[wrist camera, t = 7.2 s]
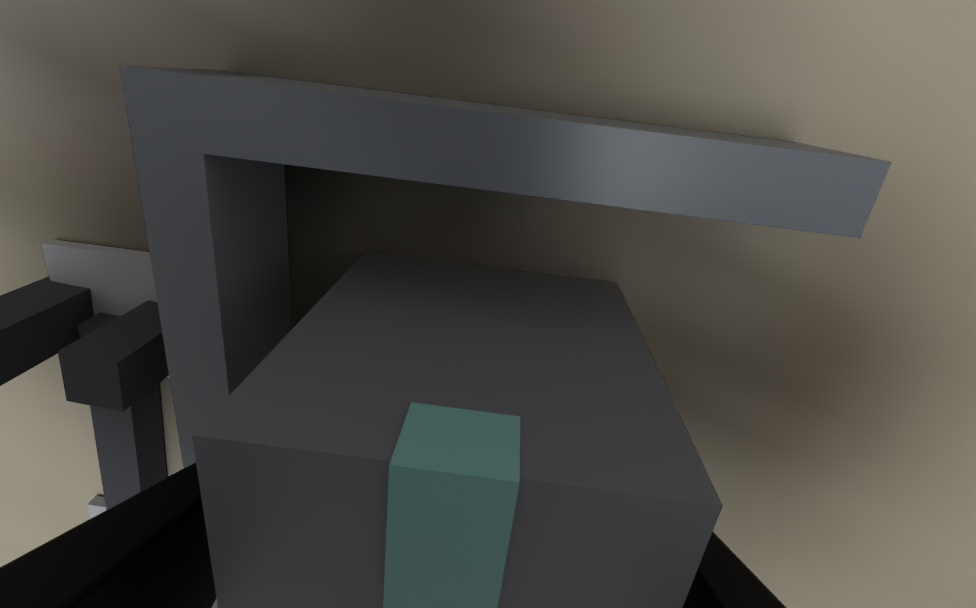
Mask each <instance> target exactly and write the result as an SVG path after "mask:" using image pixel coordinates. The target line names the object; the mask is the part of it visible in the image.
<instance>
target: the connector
mask: <svg viewBox="0 0 976 608" xmlns="http://www.w3.org/2000/svg"><path fill="white" fill-rule="evenodd" d="M192 440H193V446H194V453H195V459H196V466H197V473H198V479H199V486H200V492H201V499H202V505H203V512H204V518H205V525H206V532H207V538H208V545H209V551H210V558H211V564H212V571H213V578H214V584H215V591H216V597H217V604H218V608H682V607H683V605H684V602H685V600H686V597H687V595H688V592H689V590H690V587H691V585H692V582H693V580H694V577H695V574H696V572H697V569H698V567H699V564H700V562H701V559H702V557H703V554H704V552H705V549H706V546H707V544H708V541H709V539H710V536H711V534H712V531H713V529H714V526H715V524H716V521H717V519H718V516H719V513H720V511H721V508H722V503H721V501H720V499H719V497H718V495H717V493H716V491H715V489H714V487H713V484H712V482H711V480H710V478H709V476H708V474H707V472H706V470H705V468H704V465H703V463H702V461H701V459H700V457H699V455H698V453H697V451H696V449H695V446H694V444H693V442H692V440H691V438H690V436H689V434H688V432H687V430H686V427H685V425H684V423H683V421H682V419H681V417H680V415H679V413H678V411H677V408H676V406H675V404H674V402H673V400H672V398H671V396H670V394H669V391H668V389H667V387H666V385H665V383H664V381H663V379H662V377H661V375H660V372H659V370H658V368H657V366H656V364H655V362H654V360H653V358H652V356H651V353H650V351H649V349H648V347H647V345H646V343H645V341H644V339H643V337H642V334H641V332H640V330H639V328H638V326H637V324H636V322H635V320H634V318H633V315H632V313H631V311H630V309H629V307H628V305H627V303H626V301H625V299H624V296H623V294H622V292H621V290H620V288H619V286H618V284H617V283H614V282H606V281H598V280H590V279H583V278H575V277H567V276H559V275H552V274H544V273H536V272H528V271H520V270H513V269H505V268H497V267H489V266H482V265H474V264H466V263H458V262H450V261H443V260H435V259H427V258H419V257H412V256H404V255H396V254H388V253H380V252H373V251H366V252H365V253H364V254H363V255H362V256H361V257H360V258H359V259H358V260H357V261H356V262H355V263H354V264H353V265H352V267H351V268H350V269H349V270H348V271H347V272H346V273H345V274H344V275H343V276H342V277H341V278H340V279H339V280H338V281H337V282H336V283H335V284H334V286H333V287H332V288H331V289H330V290H329V291H328V292H327V293H326V294H325V295H324V296H323V297H322V298H321V299H320V300H319V301H318V302H317V303H316V305H315V306H314V307H313V308H312V309H311V310H310V311H309V312H308V313H307V314H306V315H305V316H304V317H303V318H302V319H301V320H300V321H299V322H298V324H297V325H296V326H295V327H294V328H293V329H292V330H291V331H290V332H289V333H288V334H287V335H286V336H285V337H284V338H283V339H282V340H281V342H280V343H279V344H278V345H277V346H276V347H275V348H274V349H273V350H272V351H271V352H270V353H269V354H268V355H267V356H266V357H265V358H264V359H263V361H262V362H261V363H260V364H259V365H258V366H257V367H256V368H255V369H254V370H253V371H252V372H251V373H250V374H249V375H248V376H247V377H246V378H245V380H244V381H243V382H242V383H241V384H240V385H239V386H238V387H237V388H236V389H235V390H234V391H233V392H232V393H231V394H230V395H229V396H228V397H227V399H226V400H225V401H224V402H223V403H222V404H221V405H220V406H219V407H218V408H217V409H216V410H215V411H214V412H213V413H212V414H211V415H210V416H209V418H208V419H207V420H206V421H205V422H204V423H203V424H202V425H201V426H200V427H199V428H198V429H197V430H196V431H195V432H194V433H193V434H192Z"/></svg>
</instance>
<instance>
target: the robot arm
mask: <svg viewBox="0 0 976 608" xmlns="http://www.w3.org/2000/svg"><path fill="white" fill-rule="evenodd" d="M216 598H217V597H216V591H215V584H214V578H213V571H212V564H211V558H210V551H209V545H208V538H207V532H206V525H205V518H204V512H203V505H202V499H201V492H200V486H199V479H198V473H197V466H196V462H195V463H193V464H191V465H189V466H188V467H186V468H184V469H182V470H180V471H178V472H176V473H175V474H173V475H171V476H169V477H167V478H165V479H163V480H162V481H160V482H158V483H156V484H154V485H152V486H150V487H149V488H147V489H145V490H143V491H141V492H139V493H137V494H136V495H134V496H132V497H130V498H128V499H126V500H124V501H123V502H121V503H119V504H117V505H115V506H113V507H111V508H110V509H108V510H106V511H104V512H102V513H100V514H98V515H97V516H95V517H93V518H91V519H89V520H87V521H86V522H84V523H82V524H80V525H78V526H76V527H74V528H73V529H71V530H69V531H67V532H65V533H63V534H61V535H60V536H58V537H56V538H54V539H52V540H50V541H48V542H47V543H45V544H43V545H41V546H39V547H37V548H35V549H34V550H32V551H30V552H28V553H26V554H24V555H22V556H21V557H19V558H17V559H15V560H13V561H11V562H9V563H8V564H6V565H4V566H2V567H0V608H212V606H213V604H214V602H215V600H216ZM682 608H786V607H785V606H784V605H783V604H782V603H781V602H780V601H779V600H778V598H777V597H776V596H775V595H774V594H773V593H772V592H771V591H770V590H769V589H768V588H767V587H766V586H765V585H764V584H763V583H762V582H761V581H760V580H759V579H758V578H757V577H756V576H755V575H754V574H753V573H752V572H751V571H750V570H749V569H748V568H747V566H746V565H745V564H744V563H743V562H742V561H741V560H740V559H739V558H738V557H737V556H736V555H735V554H734V553H733V552H732V551H731V550H730V549H729V548H728V547H727V546H726V545H725V544H724V543H723V542H722V541H721V540H720V539H719V538H718V537H717V536H716V534H715V533H714V532H713V531H712V534H711V536H710V539H709V541H708V544H707V546H706V549H705V552H704V554H703V557H702V559H701V562H700V564H699V567H698V569H697V572H696V574H695V577H694V580H693V582H692V585H691V587H690V590H689V592H688V595H687V597H686V600H685V602H684V605H683V607H682Z"/></svg>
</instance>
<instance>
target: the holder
mask: <svg viewBox="0 0 976 608" xmlns="http://www.w3.org/2000/svg"><path fill="white" fill-rule="evenodd" d="M120 71H121V77H122V84H123V90H124V96H125V102H126V109H127V115H128V121H129V127H130V134H131V140H132V146H133V152H134V159H135V165H136V171H137V178H138V184H139V190H140V196H141V203H142V209H143V215H144V221H145V228H146V234H147V240H148V246H149V253H150V259H151V265H152V272H153V278H154V284H155V290H156V297H157V303H158V309H159V315H160V322H161V328H162V334H163V340H164V347H165V353H166V359H167V366H168V372H169V378H170V384H171V391H172V397H173V403H174V409H175V416H176V422H177V428H178V434H179V441H180V447H181V453H182V459H183V466H184V468H186V467H188V466H189V465H191V464H193V463H195V462H196V459H195V453H194V446H193V440H192V434H193V433H194V432H195V431H196V430H197V429H198V428H199V427H200V426H201V425H202V424H203V423H204V422H205V421H206V420H207V419H208V418H209V416H210V415H211V414H212V413H213V412H214V411H215V410H216V409H217V408H218V407H219V406H220V405H221V404H222V403H223V402H224V401H225V400H226V399H227V397H228V396H229V395H230V394H231V393H232V392H233V391H234V390H235V389H236V388H237V387H238V386H239V385H240V384H241V383H242V382H243V381H244V380H245V378H246V377H247V376H248V375H249V374H250V373H251V372H252V371H253V370H254V369H255V368H256V367H257V366H258V365H259V364H260V363H261V362H262V361H263V359H264V358H265V357H266V356H267V355H268V354H269V353H270V352H271V351H272V350H273V349H274V348H275V347H276V346H277V345H278V344H279V343H280V342H281V340H282V339H283V338H284V337H285V336H286V335H287V334H288V333H289V332H290V331H291V330H292V325H291V303H290V281H289V259H288V237H287V215H286V193H285V171H284V164H286V165H294V166H302V167H310V168H318V169H325V170H333V171H341V172H349V173H357V174H364V175H372V176H380V177H388V178H396V179H403V180H411V181H419V182H427V183H435V184H442V185H450V186H458V187H466V188H474V189H481V190H489V191H497V192H505V193H513V194H520V195H528V196H536V197H544V198H552V199H559V200H567V201H575V202H583V203H591V204H598V205H606V206H614V207H622V208H630V209H637V210H645V211H653V212H661V213H669V214H676V215H684V216H692V217H700V218H708V219H715V220H723V221H731V222H739V223H747V224H754V225H762V226H770V227H778V228H786V229H793V230H801V231H809V232H817V233H825V234H832V235H840V236H848V237H856V238H860V236H861V233H862V231H863V229H864V226H865V224H866V221H867V219H868V217H869V214H870V212H871V210H872V207H873V205H874V202H875V200H876V198H877V195H878V193H879V190H880V188H881V186H882V183H883V181H884V179H885V176H886V174H887V171H888V169H889V167H890V164H891V162H889V161H884V160H879V159H874V158H869V157H864V156H860V155H855V154H850V153H845V152H840V151H835V150H830V149H825V148H821V147H816V146H811V145H806V144H801V143H796V142H789V141H781V140H773V139H765V138H757V137H749V136H741V135H733V134H725V133H717V132H709V131H701V130H693V129H685V128H677V127H669V126H661V125H653V124H645V123H637V122H629V121H621V120H613V119H605V118H597V117H589V116H581V115H573V114H565V113H557V112H549V111H541V110H533V109H525V108H517V107H509V106H501V105H493V104H485V103H477V102H469V101H461V100H453V99H445V98H437V97H429V96H421V95H413V94H405V93H397V92H389V91H381V90H373V89H365V88H357V87H349V86H341V85H333V84H325V83H317V82H309V81H301V80H293V79H285V78H277V77H269V76H261V75H253V74H245V73H237V72H229V71H217V70H198V69H180V68H161V67H142V66H124V65H120ZM212 608H218V604H217V598H216V600H215V602H214V604H213V606H212Z"/></svg>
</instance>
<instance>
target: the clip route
mask: <svg viewBox="0 0 976 608" xmlns="http://www.w3.org/2000/svg"><path fill="white" fill-rule="evenodd" d="M41 246H42V250H43V254H44V258H45V262H46V266H47V270H48V274H49V277H46V278H44V279H41V280H39V281H36V282H34V283H31V284H29V285H26V286H24V287H21V288H19V289H16V290H14V291H11V292H9V293H6V294H4V295H1V296H0V386H1V385H3V384H4V383H6V382H8V381H10V380H11V379H13V378H15V377H17V376H19V375H20V374H22V373H24V372H26V371H27V370H29V369H31V368H33V367H34V366H36V365H38V364H40V363H41V362H43V361H45V360H47V359H48V358H50V357H52V356H54V355H55V354H57V353H58V354H59V360H60V366H61V371H62V377H63V382H64V388H65V394H66V399H67V401H71V402H76V403H81V404H87V405H90V408H91V414H92V421H93V427H94V434H95V440H96V446H97V453H98V459H99V466H100V472H101V478H102V485H103V491H104V497H101V496H95V497H94V498H93V499H92V500H91V501H90V502H89V503H88V504H87V507H88V511H89V514H90V518H93V517H95V516H97V515H98V514H100V513H102V512H104V511H106V510H108V509H110V508H111V507H113V506H115V505H117V504H119V503H121V502H123V501H124V500H126V499H128V498H130V497H132V496H134V495H136V494H137V493H139V492H141V491H143V490H145V489H147V488H149V487H150V486H152V485H154V484H156V483H158V482H160V481H162V480H163V479H165V478H167V472H166V460H165V449H164V438H163V427H162V415H161V404H160V393H159V383H160V382H161V381H162V380H163V379H165V378H169V372H168V366H167V359H166V353H165V347H164V340H163V334H162V328H161V322H160V315H159V309H158V303H157V297H156V290H155V284H154V278H153V272H152V265H151V259H150V253H149V252H145V251H137V250H130V249H122V248H115V247H107V246H99V245H92V244H84V243H77V242H69V241H62V240H51V241H47V242H44V243H41Z"/></svg>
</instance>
